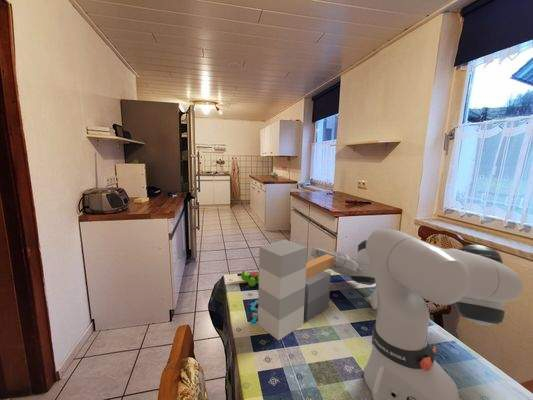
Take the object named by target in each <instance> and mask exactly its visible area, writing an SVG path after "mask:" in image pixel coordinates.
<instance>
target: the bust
mask: <svg viewBox="0 0 533 400" xmlns="http://www.w3.org/2000/svg"><path fill="white" fill-rule="evenodd" d="M368 300H369V303H370V306H371V307H372V309H373V310H377V304H378V297H377V288H375V289H374V290H373V292H372V293H371V294H370V297H369V299H368Z"/></svg>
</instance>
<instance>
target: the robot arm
mask: <svg viewBox="0 0 533 400" xmlns="http://www.w3.org/2000/svg"><path fill="white" fill-rule="evenodd" d="M326 254H329V255H332V256H334V258H333V260H334V262H333V264H334V266H333V267H330V268H329V269H330V270H331V271H332V272H334V273H336V274H339V275H341V276H343V277H345V278H348V279H351V280H352V282H353V281H354V282H356V283H358V284H361V285H367V286H371V285H375V287H376V288H377V297H378V304H377V309H376V319H375V324H374V325H373V328H372V332H371V333H372V335H371V345H372V348H371V352H370V355H369V358H368V360H367V363H366V365H365V367H364V369H363V379H364V381H365V384H366V385H367V387H368V389H369V391H370V392H371V397H372V400H463V399H462V398H461V397H460V393H459V389H458V386H457V383H456V382H455V381H454V379H453V378H452V377H451V376H450V375H449V374H448V373H447V372H446V371H445V370H444V369H443V368H442V367H441V365H440V364H439V363H438V362H437V361H436V359H435V356H436V351H437V345H434V346H433V348H432V347H431V346H430V345H429V343H428V341H427V337H428V330H429V323H430V319H431V318H430V310H429V308H428V305H427V303H426V301H425V300H427V301H429V302H431V303H432V304H433V303H434V304H436V305H439V306H449V305H453V304H454V305H455V307H456V310H457V312H458V313H459V315H460V316H461V317H462V318H465V319H466V320H468V321H470V322H472V323H474V324H477V325H481V326H492V325H500V324H501V323H503V322H504V318H505V314H506V312H505V310H504V307H505V303H509V302H512V301H515V300H516V299H518V298H519V297H520V296H521V294H522V293H523V292H522V291H523V287H524V286H523V285H524V284H523V281H522V279H521V277H520V276H519V274H518V273H517V272H516V271H515V270H514V269H512V268H511V267H509V266H508V265H505V264H503V260H502V257H501V254H500V253H499V252H498V251H497V250H496V249H494V248H493V247H489V246H485V245H482V244H470V245H463V246H461V247H459V248H458V249H457V248H443V247H439V246H437V245H434V244H432V243H428V242H426V241H424V240H422V239H420V238H417V237H415V236H412V235H410V234H408V233H405V232H403V231H401V230H398V229H397V230H396V229H392V228H391V229H390V228H378V229H376V230H375V231H373V232H371V234H370V235H369V236H368V237H367V239H364V240H363V241H361V242H360V243H359V244H358V245H357V256H356V259H354V258H352V257H350V256H349V255H348V254H346V253H344V252H342V251H332V250H328V249H321V248H318V247H313V248H312V249H311V252H310V256H311V257H312V258H314V259H316V258H318V257H321V256H323V255H326ZM376 288H375V289H376Z"/></svg>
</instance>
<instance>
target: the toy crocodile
mask: <svg viewBox="0 0 533 400" xmlns="http://www.w3.org/2000/svg"><path fill="white" fill-rule="evenodd" d="M240 278H241V280H243V282H244V281H245V282H247V284H248V285H249V286H250V287H255V286H256V285H257V284H259V271H252V272H251V273H250V272H247V271H246V269H243V270H242V271H241V277H240Z"/></svg>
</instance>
